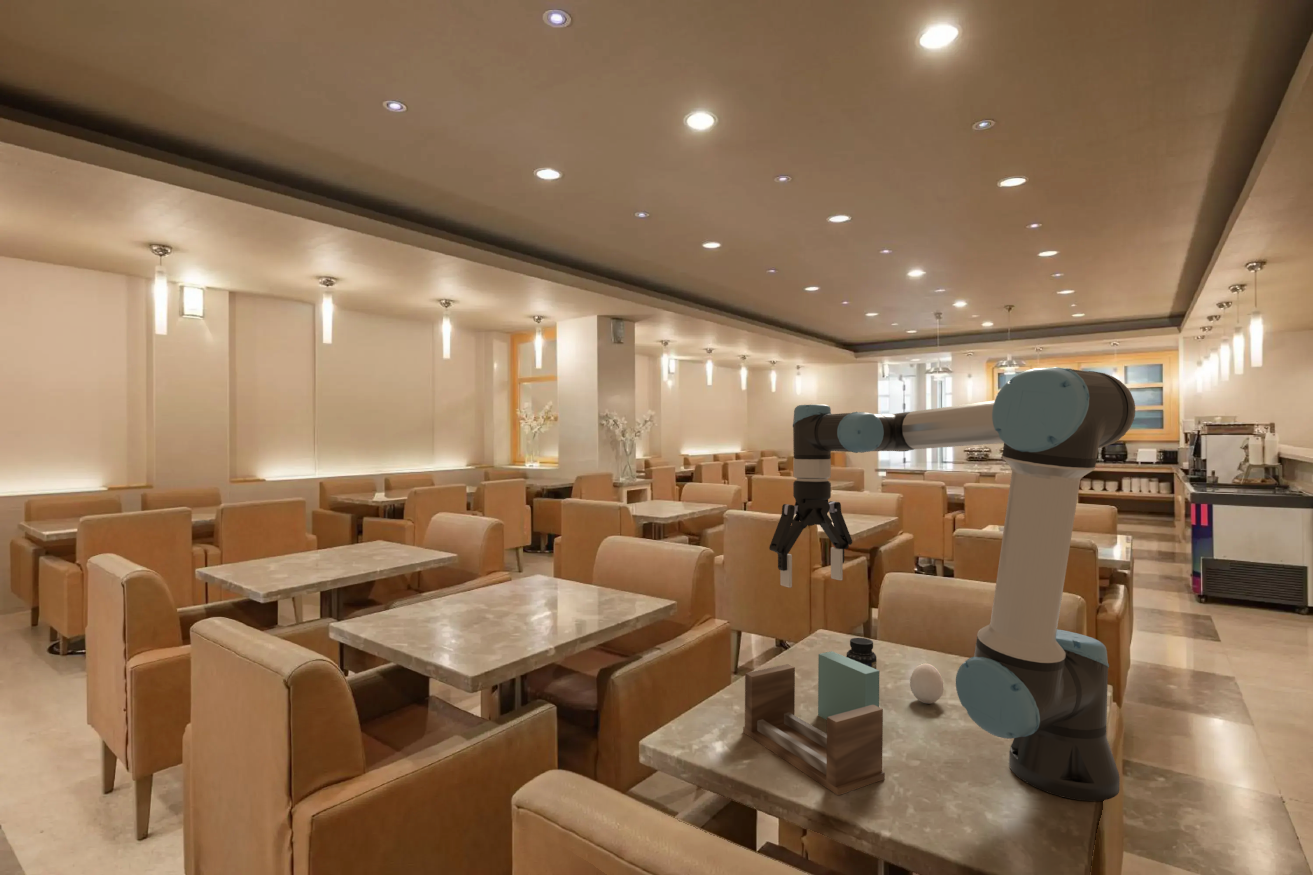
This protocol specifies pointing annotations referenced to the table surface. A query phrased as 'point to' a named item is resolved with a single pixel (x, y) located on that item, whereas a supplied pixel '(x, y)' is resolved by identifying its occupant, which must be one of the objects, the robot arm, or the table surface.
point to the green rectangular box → (845, 685)
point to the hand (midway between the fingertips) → (812, 582)
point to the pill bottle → (862, 651)
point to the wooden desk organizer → (814, 733)
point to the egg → (926, 683)
